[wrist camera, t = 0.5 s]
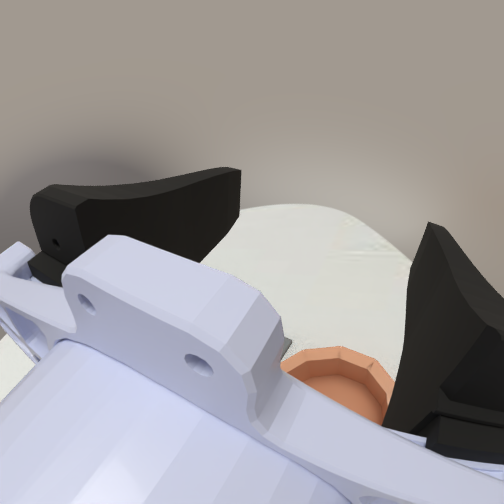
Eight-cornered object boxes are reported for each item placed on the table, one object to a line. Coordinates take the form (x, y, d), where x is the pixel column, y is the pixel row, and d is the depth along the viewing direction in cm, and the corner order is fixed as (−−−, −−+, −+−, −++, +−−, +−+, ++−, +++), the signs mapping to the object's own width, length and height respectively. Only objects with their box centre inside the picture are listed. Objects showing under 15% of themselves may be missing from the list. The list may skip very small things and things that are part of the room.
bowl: (351, 511, 18) (352, 515, 14) (236, 451, 24) (217, 443, 20) (413, 394, 23) (424, 376, 20) (302, 350, 29) (296, 327, 26)
